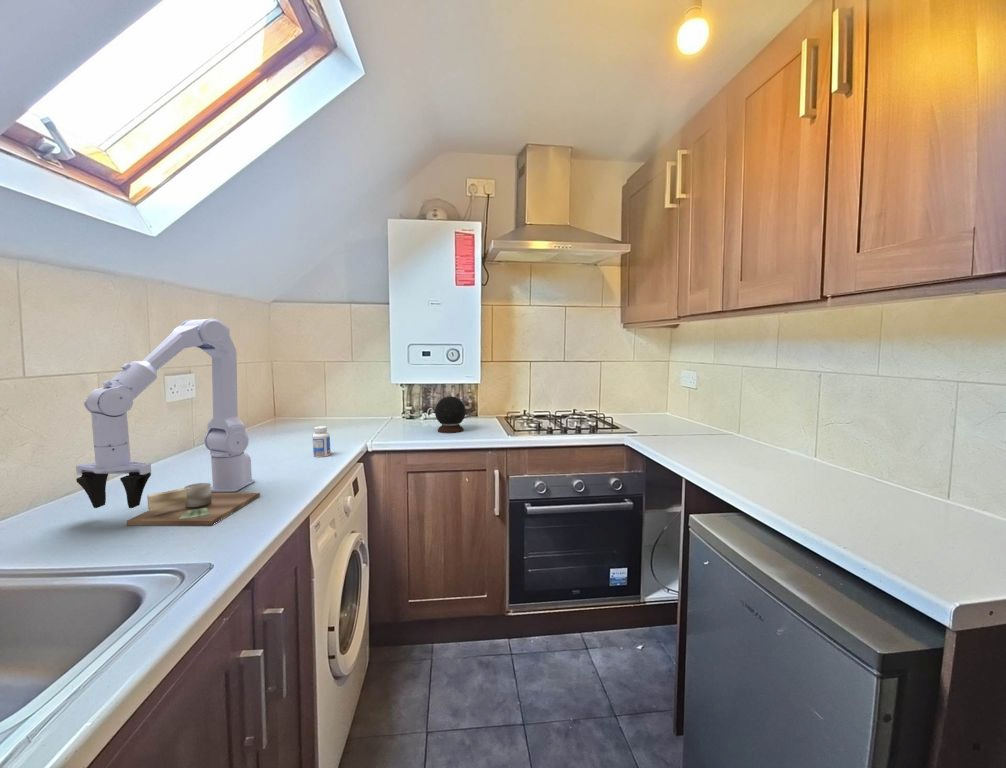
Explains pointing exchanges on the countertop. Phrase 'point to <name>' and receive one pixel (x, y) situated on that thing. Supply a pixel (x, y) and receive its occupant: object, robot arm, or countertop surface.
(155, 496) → the beige elongated block piece
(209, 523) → the base
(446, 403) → the black ball on stand
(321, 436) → the pill bottle
